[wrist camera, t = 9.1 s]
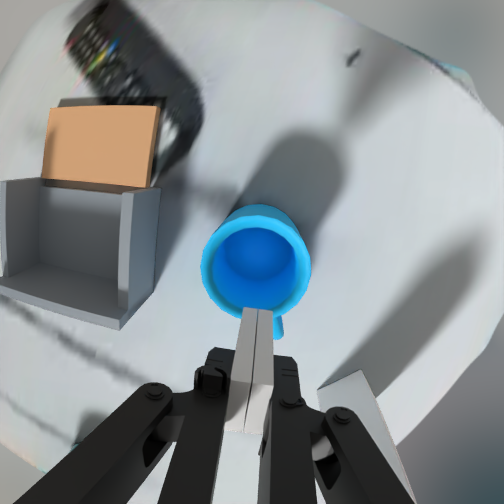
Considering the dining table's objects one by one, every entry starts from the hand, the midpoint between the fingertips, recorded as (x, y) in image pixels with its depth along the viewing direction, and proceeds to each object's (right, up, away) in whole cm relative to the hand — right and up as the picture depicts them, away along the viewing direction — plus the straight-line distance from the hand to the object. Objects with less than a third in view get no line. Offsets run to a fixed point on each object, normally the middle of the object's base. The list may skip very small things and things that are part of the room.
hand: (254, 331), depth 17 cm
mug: (+1, +3, +15) cm, 15 cm away
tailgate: (-17, +12, +12) cm, 24 cm away
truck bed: (-18, +6, +15) cm, 24 cm away
